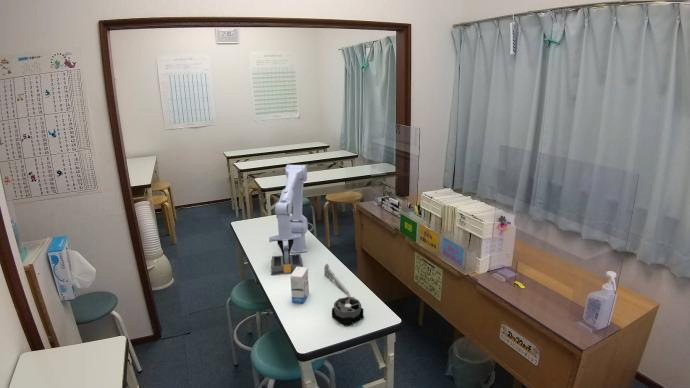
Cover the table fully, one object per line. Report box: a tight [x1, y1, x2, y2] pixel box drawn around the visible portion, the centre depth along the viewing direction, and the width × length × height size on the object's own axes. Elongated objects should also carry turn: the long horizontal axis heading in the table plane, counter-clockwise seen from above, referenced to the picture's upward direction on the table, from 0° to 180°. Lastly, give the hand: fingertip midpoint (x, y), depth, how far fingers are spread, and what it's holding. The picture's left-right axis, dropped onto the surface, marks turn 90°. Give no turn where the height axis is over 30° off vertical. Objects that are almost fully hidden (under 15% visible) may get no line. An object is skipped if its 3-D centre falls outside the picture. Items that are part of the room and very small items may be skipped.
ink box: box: [289, 266, 310, 304], centre depth 159 cm, size 9×5×12 cm, turn 168°
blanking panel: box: [283, 244, 289, 264], centre depth 185 cm, size 8×2×6 cm, turn 10°
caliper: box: [323, 263, 352, 297], centre depth 169 cm, size 21×1×6 cm, turn 31°
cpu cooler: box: [331, 295, 364, 327], centre depth 147 cm, size 10×6×10 cm
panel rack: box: [270, 253, 304, 276], centre depth 186 cm, size 14×15×5 cm
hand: (286, 254), depth 184 cm, fingers closed on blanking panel, 2 cm apart
